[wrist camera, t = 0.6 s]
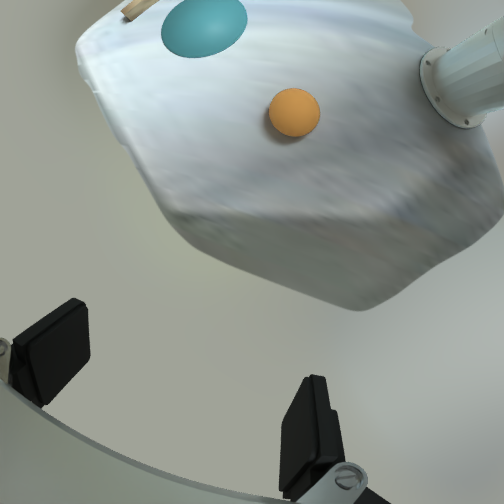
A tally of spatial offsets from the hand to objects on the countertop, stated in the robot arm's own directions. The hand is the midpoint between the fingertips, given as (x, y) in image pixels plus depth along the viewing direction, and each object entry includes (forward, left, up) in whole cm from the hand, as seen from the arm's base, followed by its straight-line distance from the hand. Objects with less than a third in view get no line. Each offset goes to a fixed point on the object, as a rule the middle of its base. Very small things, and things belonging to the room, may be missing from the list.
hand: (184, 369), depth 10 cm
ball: (-13, -9, -23) cm, 28 cm away
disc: (-13, -28, -26) cm, 40 cm away
